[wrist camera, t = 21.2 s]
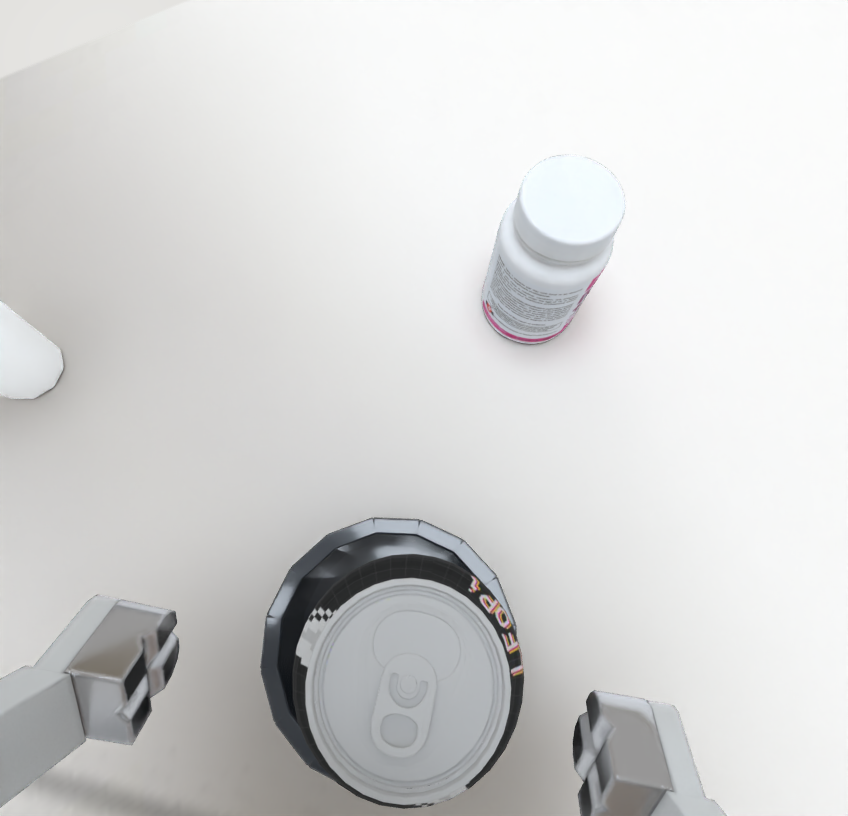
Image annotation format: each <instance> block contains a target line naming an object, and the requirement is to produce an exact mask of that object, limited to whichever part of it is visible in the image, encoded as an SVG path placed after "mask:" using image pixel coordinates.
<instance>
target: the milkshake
mask: <svg viewBox="0 0 848 816" xmlns="http://www.w3.org/2000/svg"><path fill="white" fill-rule="evenodd" d="M63 369H64V366H63V360H62V354H61V349H60V348H59V347H57V346H56V345H55V344H54V343H52V342H51V341H50V340H49V339H48V338H46V337H45V336H44V335H43V334H41V333H40V332H39V331H38V330H36V329H35V328H34V327H33V326H31V325H30V324H29V323H28V322H26V321H25V320H24V319H23V318H21V317H20V316H19V315H18V314H16V313H15V312H14V311H13V310H12V309H10V308H9V307H8V306H7V305H5V304H4V303H3V302H2V301H1V300H0V395H1V396H4V397H8V398H11V399H35V398H36V397H38V396H40V395H41V394H43V393H45V392H46V391H48V390H50V389H51V388H53V387H54V386H55V384H56V382H57V380H58V378H59V376H60V375H61V373H62V371H63Z"/></svg>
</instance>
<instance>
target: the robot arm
mask: <svg viewBox="0 0 848 816" xmlns="http://www.w3.org/2000/svg"><path fill="white" fill-rule="evenodd" d="M176 624H177V619H176V612H175V611H172V610H168V609H163V608H159V607H154V606H149V605H145V604H140V603H135V602H131V601H126V600H122V599H117V598H112V597H107V596H102V595H96V596H94V597H93V598H91V599H90V600H88V601H87V602H86V604H85V605H84V606H83V607H82V608H81V610H80V611H79V612H78V613H77V614H76V616H75V617H74V618H73V619H72V620H71V622H70V623H69V624H68V625H67V627H66V628H65V629H64V630H63V631H62V633H61V634H60V635H59V636H58V637H57V639H56V640H55V641H54V642H53V643H52V645H51V646H50V647H49V648H48V649H47V651H46V652H45V653H44V654H43V656H42V657H41V658H40V659H39V660H38V662H37V663H36V664H35V665H34V666H33V667H31V666H24V667H22V668H20V669H18V670H16V671H14V672H12V673H11V674H9V675H7V676H5V677H3V678H1V679H0V808H1V807H2V806H3V805H4V804H6V803H7V802H8V801H10V800H11V799H12V798H13V797H15V796H16V795H17V794H19V793H20V792H21V791H22V790H24V789H25V788H26V787H28V786H29V785H30V784H31V783H33V782H34V781H35V780H37V779H38V778H39V777H40V776H42V775H43V774H44V773H46V772H47V771H48V770H49V769H51V768H52V767H53V766H54V765H56V764H57V763H58V762H60V761H61V760H62V759H63V758H65V757H66V756H67V755H69V754H70V753H71V752H72V751H74V750H75V749H76V748H78V747H79V746H80V745H81V744H83V743H84V742H85V741H86V738H90V739H96V740H102V741H108V742H114V743H120V744H126V745H133V743H134V741H135V739H136V738H137V736H138V734H139V732H140V731H141V729H142V727H143V725H144V724H145V722H146V720H147V718H148V717H149V715H150V713H151V711H152V709H151V701H150V698H151V697H153V696H154V695H156V694H157V693H159V692H160V691H162V690H163V689H164V688H165V687H166V685H167V683H168V681H169V679H170V677H171V676H172V673H173V670H174V668H175V665H176V662H177V659H178V653H179V638H178V637H177V636H176V635H175V634H174V633H173V632H172V630H173V629H174V627H175V626H176ZM586 705H587V711H588V712H586V713H584V714H582V715H580V716H579V718H578V721H577V723H576V726H575V730H574V737H573V759H574V768H575V770H576V772H577V773H578V774H579V776H580V777H581V779H582V780H583V782H584V783H583V785H582V787H581V789H580V791H579V793H578V799H579V807H580V814H581V816H727V815H726V814H725V813H724V811H723V810H722V809H721V808H720V807H719V805H718V804H717V803H716V802H715V801H714V800H711V799H707V798H706V797H705V794H704V791H703V788H702V784H701V781H700V778H699V775H698V772H697V769H696V766H695V762H694V759H693V756H692V753H691V750H690V747H689V744H688V740H687V737H686V734H685V731H684V728H683V725H682V721H681V718H680V715H679V712H678V710H677V709H676V708H675V706H673V705H670V704H665V703H659V702H653V701H648V700H645V699H642V698H636V697H630V696H624V695H619V694H613V693H607V692H602V691H596V690H594V691H592V692H591V693H590V694H589V696H588V698H587V700H586Z"/></svg>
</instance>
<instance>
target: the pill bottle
mask: <svg viewBox="0 0 848 816" xmlns="http://www.w3.org/2000/svg"><path fill="white" fill-rule="evenodd" d="M624 212H625V196H624V192H623V189H622V187H621V185H620V183H619V181H618V180H617V178H616V177H615V176H614V175H613V174H612V173H611V172H610V171H609V170H608V169H607V168H606V167H604V166H603V165H601V164H600V163H598V162H596V161H594V160H592V159H589V158H586V157H582V156H577V155H559V156H553V157H550V158H548V159H545V160H543V161H541V162H539V163H538V164H536V165H535V166H534V167H533V168H532V169H531V170H530V171H529V172H528V173H527V175H526V176H525V178H524V180H523V182H522V184H521V187H520V190H519V193H518V196H517V198H516V199H515V200H514V201H513V202H512V203H511V204H510V205H509V207H508V208H507V210H506V211H505V213H504V215H503V217H502V220H501V222H500V226H499V229H498V233H497V237H496V241H495V245H494V249H493V253H492V257H491V260H490V264H489V268H488V272H487V276H486V279H485V282H484V286H483V291H482V306H483V310H484V313H485V316H486V318H487V319H488V321H489V323H490V324H491V325H492V327H493V328H494V329H495V330H496V331H497V332H498V333H500V334H501V335H503V336H504V337H506V338H508V339H510V340H513V341H516V342H520V343H526V344H536V343H542V342H546V341H549V340H551V339H553V338H555V337H556V336H558V335H559V334H560V333H561V332H562V331H564V329H565V328H566V327H567V326H568V324H569V323H570V322H571V320H572V318H573V317H574V315H575V313H576V312H577V310H578V309H579V307H580V305H581V304H582V302H583V301H584V299H585V298H586V296H587V294H588V293H589V291H590V290H591V288H592V287H593V285H594V284H595V282H596V281H597V279H598V277H599V276H600V274H601V273H602V271H603V270H604V268H605V266H606V265H607V263H608V261H609V259H610V256H611V253H612V250H613V243H614V235H615V233H616V231H617V229H618V227H619V225H620V223H621V221H622V219H623V216H624Z"/></svg>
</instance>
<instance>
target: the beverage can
mask: <svg viewBox="0 0 848 816" xmlns="http://www.w3.org/2000/svg"><path fill="white" fill-rule="evenodd" d="M523 683H524V673H523V664H522V655H521V650H520V647H519V643H518V640H517V636H516V633H515V629H514V627H513V625H512V623H511V621H510V619H509V617H508V615H507V613H506V611H505V610H504V608H503V607H502V605H501V604H500V603H499V601H498V600H497V599H496V597H495V596H494V595H493V593H492V592H491V591H490V590H489V589H488V588H487V587H486V586H485V585H484V584H483V583H482V582H481V581H479V580H478V579H477V578H476V577H475V576H474V575H473V574H471V573H469V572H467V571H466V570H464V569H462V568H461V567H459V566H457V565H456V564H454V563H451V562H448V561H445V560H443V559H440V558H437V557H434V556H427V555H419V554H401V555H390V556H387V557H383V558H379V559H376V560H372V561H370V562H368V563H366V564H364V565H362V566H360V567H358V568H356V569H354V570H352V571H350V572H349V573H348V574H346V575H345V576H344V577H342V578H341V579H340V580H339V581H337V582H336V583H335V584H333V585H332V587H331V588H330V589H329V590H328V591H327V592H326V593H325V595H324V596H323V597H322V598H321V599H320V600H319V601H318V603H317V604H316V606H315V608H314V610H313V611H312V613H311V615H310V616H309V618H308V620H307V621H306V623H305V626H304V629H303V631H302V634H301V637H300V639H299V642H298V644H297V649H296V654H295V660H294V666H293V700H294V705H295V710H296V716H297V721H298V723H299V726H300V728H301V731H302V733H303V736H304V739H305V741H306V744H307V745H308V747H309V748H310V750H311V752H312V753H313V755H314V756H315V758H316V759H317V761H318V763H319V764H320V766H321V767H322V768H323V769H324V770H325V771H326V772H327V773H328V774H329V775H330V776H331V777H332V778H333V779H334V780H335V781H336V782H337V783H338V784H340V785H341V786H343V787H344V788H346V789H347V790H349V791H350V792H352V793H353V794H355V795H356V796H358V797H360V798H363V799H365V800H368V801H370V802H373V803H376V804H378V805H382V806H389V807H396V808H403V809H405V808H416V807H428V806H431V805H434V804H437V803H440V802H443V801H446V800H449V799H452V798H453V797H455V796H457V795H458V794H460V793H462V792H464V791H465V790H467V789H469V788H470V787H472V786H473V785H474V784H475V783H476V782H477V781H479V780H480V779H481V778H482V777H483V776H484V775H485V774H486V773H487V772H488V771H490V769H491V768H492V767H493V765H494V764H495V763H496V761H497V760H498V758H499V757H500V756H501V754H502V753H503V751H504V750H505V748H506V746H507V744H508V742H509V740H510V738H511V735H512V733H513V731H514V729H515V727H516V724H517V720H518V716H519V712H520V708H521V704H522V696H523Z"/></svg>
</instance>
